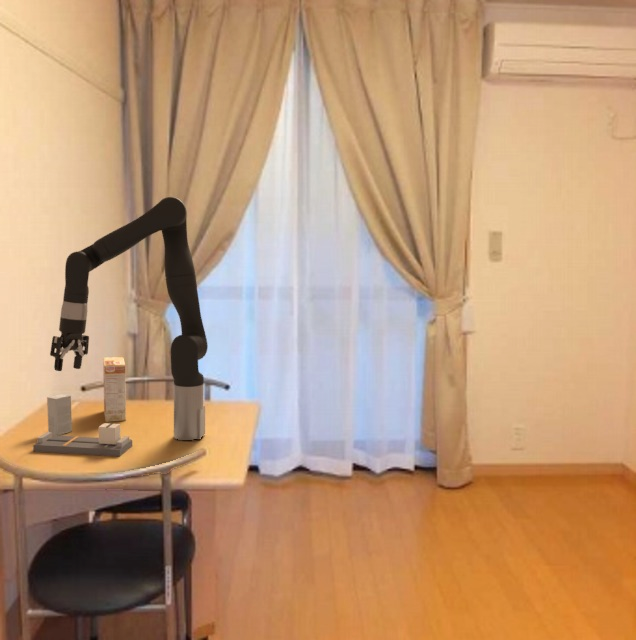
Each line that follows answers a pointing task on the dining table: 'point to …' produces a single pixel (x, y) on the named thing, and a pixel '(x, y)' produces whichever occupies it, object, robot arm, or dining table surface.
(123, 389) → the coffeecake box
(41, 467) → the dining table surface
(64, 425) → the skincare box
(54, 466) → the dining table surface
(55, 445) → the fader board
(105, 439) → the fader knob
